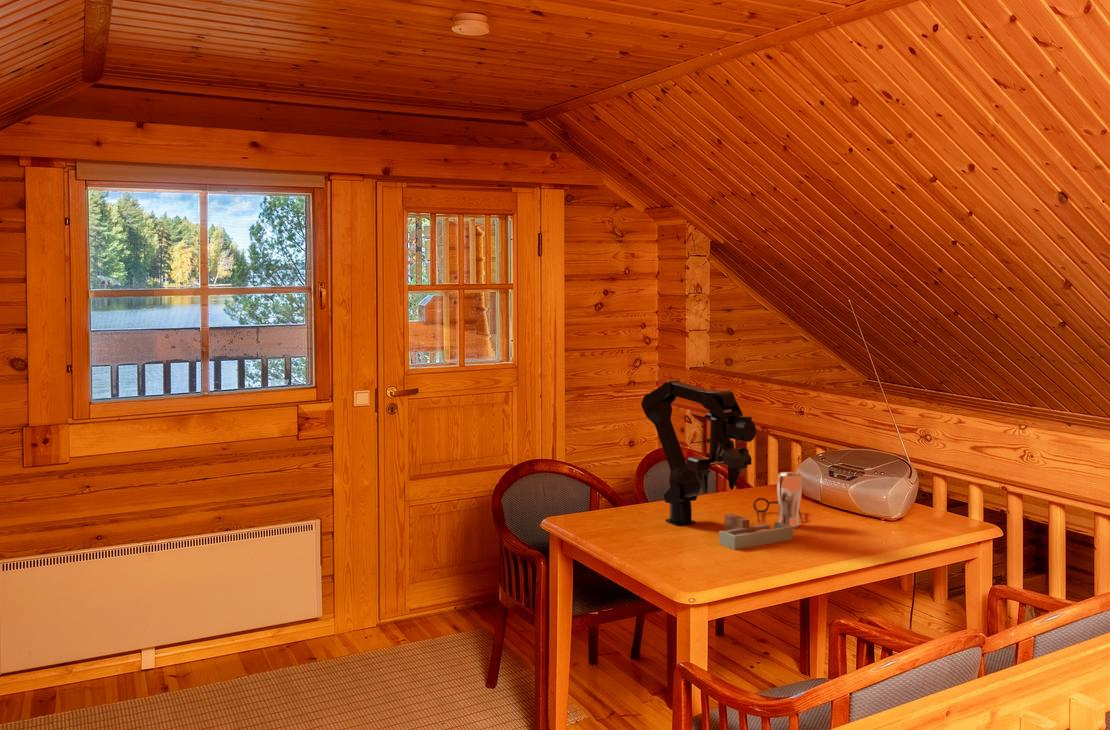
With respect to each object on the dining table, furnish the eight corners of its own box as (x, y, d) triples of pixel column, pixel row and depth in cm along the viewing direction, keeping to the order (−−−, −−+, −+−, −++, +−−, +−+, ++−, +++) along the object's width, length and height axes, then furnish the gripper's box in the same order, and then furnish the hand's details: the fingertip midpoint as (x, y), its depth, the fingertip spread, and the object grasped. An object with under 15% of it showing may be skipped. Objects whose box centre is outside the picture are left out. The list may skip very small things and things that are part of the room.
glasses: (797, 513, 300) (797, 497, 300) (803, 524, 287) (804, 507, 287) (753, 513, 301) (753, 496, 301) (757, 524, 288) (757, 507, 288)
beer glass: (801, 529, 281) (802, 477, 279) (776, 528, 282) (777, 476, 281) (800, 523, 287) (801, 472, 286) (776, 522, 289) (776, 471, 287)
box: (719, 543, 266) (719, 530, 266) (777, 534, 276) (777, 521, 275) (734, 549, 261) (734, 536, 260) (793, 539, 270) (793, 526, 270)
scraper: (707, 534, 276) (708, 517, 275) (747, 528, 282) (747, 511, 282) (728, 542, 267) (729, 524, 267) (769, 535, 274) (769, 518, 274)
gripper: (711, 444, 264) (709, 501, 265) (765, 438, 272) (763, 494, 274) (686, 436, 273) (684, 492, 275) (739, 431, 282) (737, 485, 284)
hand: (718, 491), depth 277 cm, fingers open, 9 cm apart
